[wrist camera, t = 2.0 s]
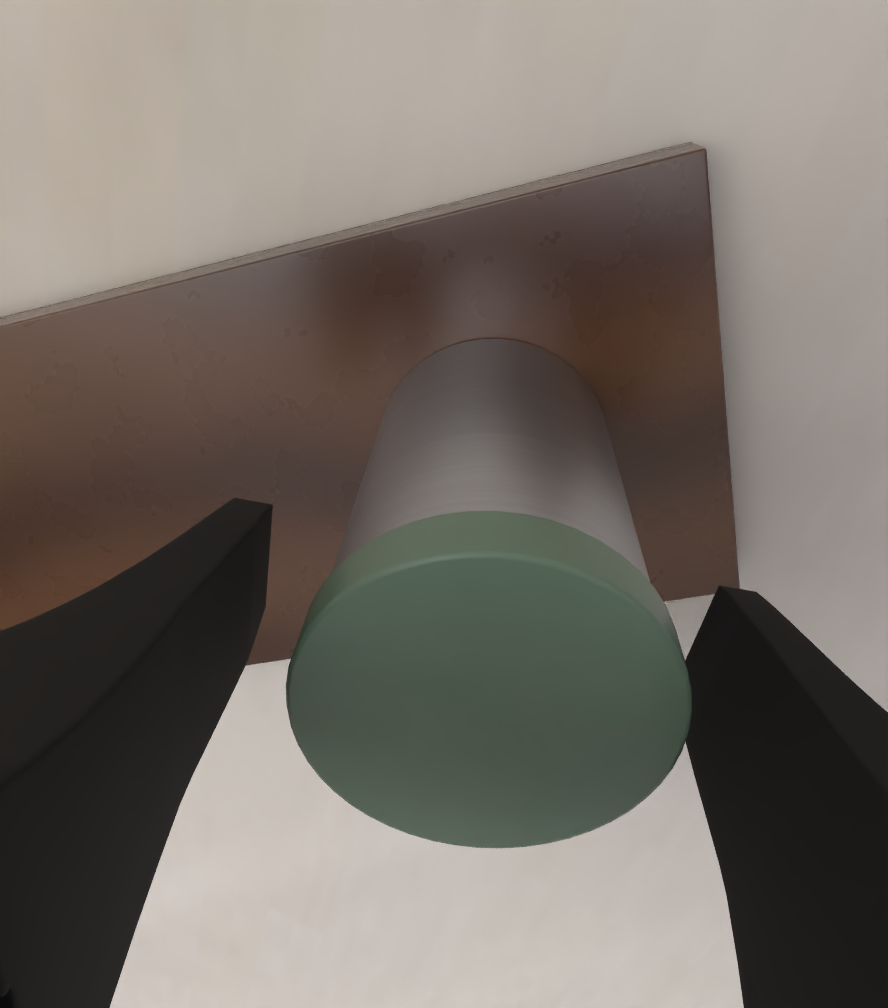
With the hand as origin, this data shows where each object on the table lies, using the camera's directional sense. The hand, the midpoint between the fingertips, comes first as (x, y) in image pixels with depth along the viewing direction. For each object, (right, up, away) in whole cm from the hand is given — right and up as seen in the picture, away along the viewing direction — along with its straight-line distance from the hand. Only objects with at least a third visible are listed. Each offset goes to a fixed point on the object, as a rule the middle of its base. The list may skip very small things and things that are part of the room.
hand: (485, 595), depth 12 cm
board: (-6, +2, +7) cm, 10 cm away
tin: (0, +3, +5) cm, 5 cm away
